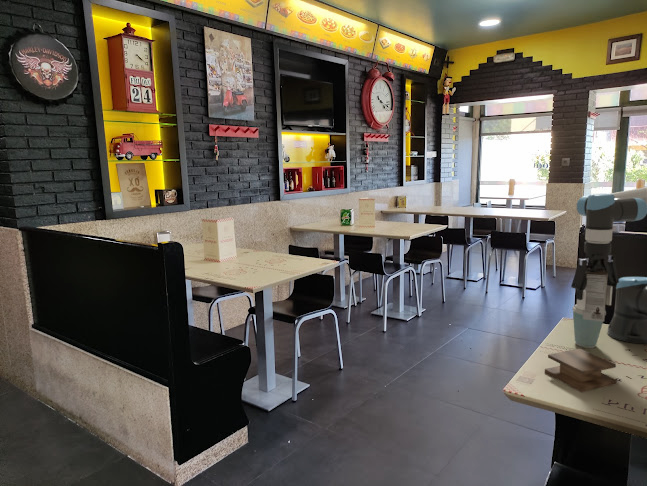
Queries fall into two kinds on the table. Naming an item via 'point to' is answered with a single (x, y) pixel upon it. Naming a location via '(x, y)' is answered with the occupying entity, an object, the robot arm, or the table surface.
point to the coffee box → (595, 295)
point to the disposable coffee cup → (585, 329)
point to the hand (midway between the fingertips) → (593, 306)
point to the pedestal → (581, 370)
